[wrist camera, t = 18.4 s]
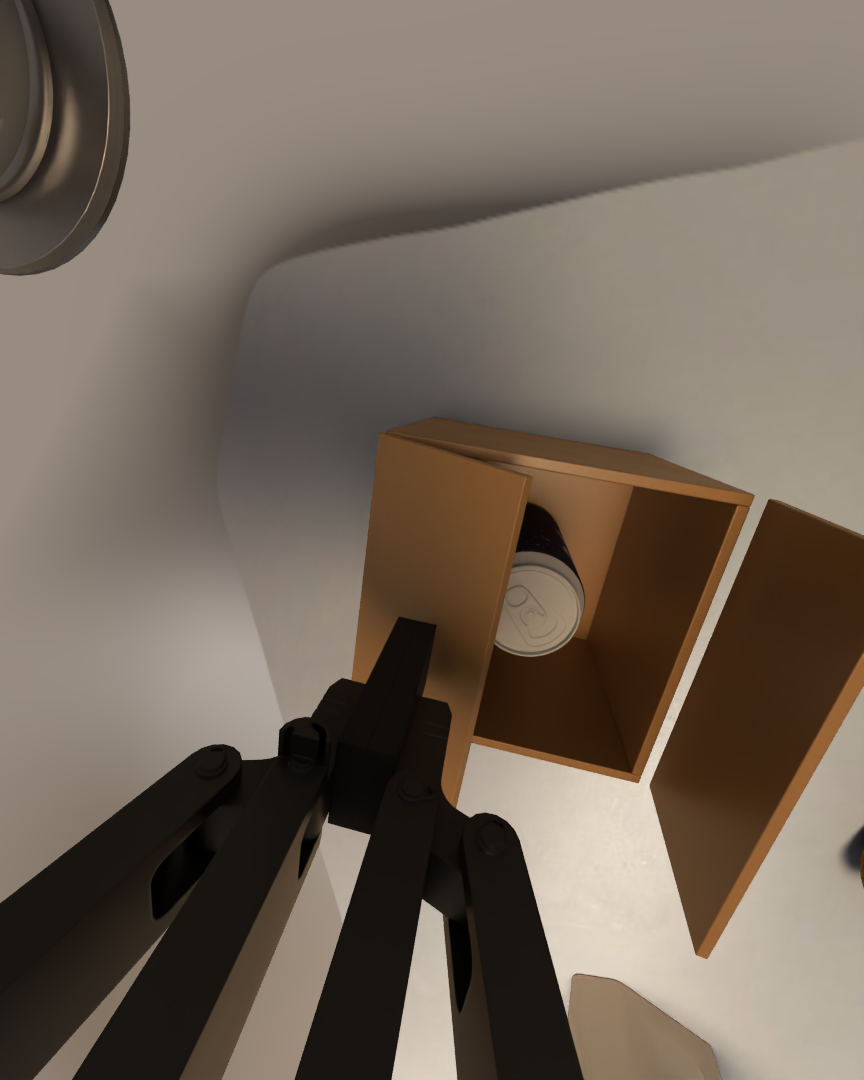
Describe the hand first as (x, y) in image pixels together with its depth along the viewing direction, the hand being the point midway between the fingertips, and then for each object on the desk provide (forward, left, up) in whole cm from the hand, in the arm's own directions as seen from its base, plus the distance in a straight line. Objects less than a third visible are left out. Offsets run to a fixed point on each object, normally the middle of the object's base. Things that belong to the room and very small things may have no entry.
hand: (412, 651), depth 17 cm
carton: (+4, 0, -18) cm, 18 cm away
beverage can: (+5, 0, -17) cm, 18 cm away
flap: (0, 0, -1) cm, 1 cm away
